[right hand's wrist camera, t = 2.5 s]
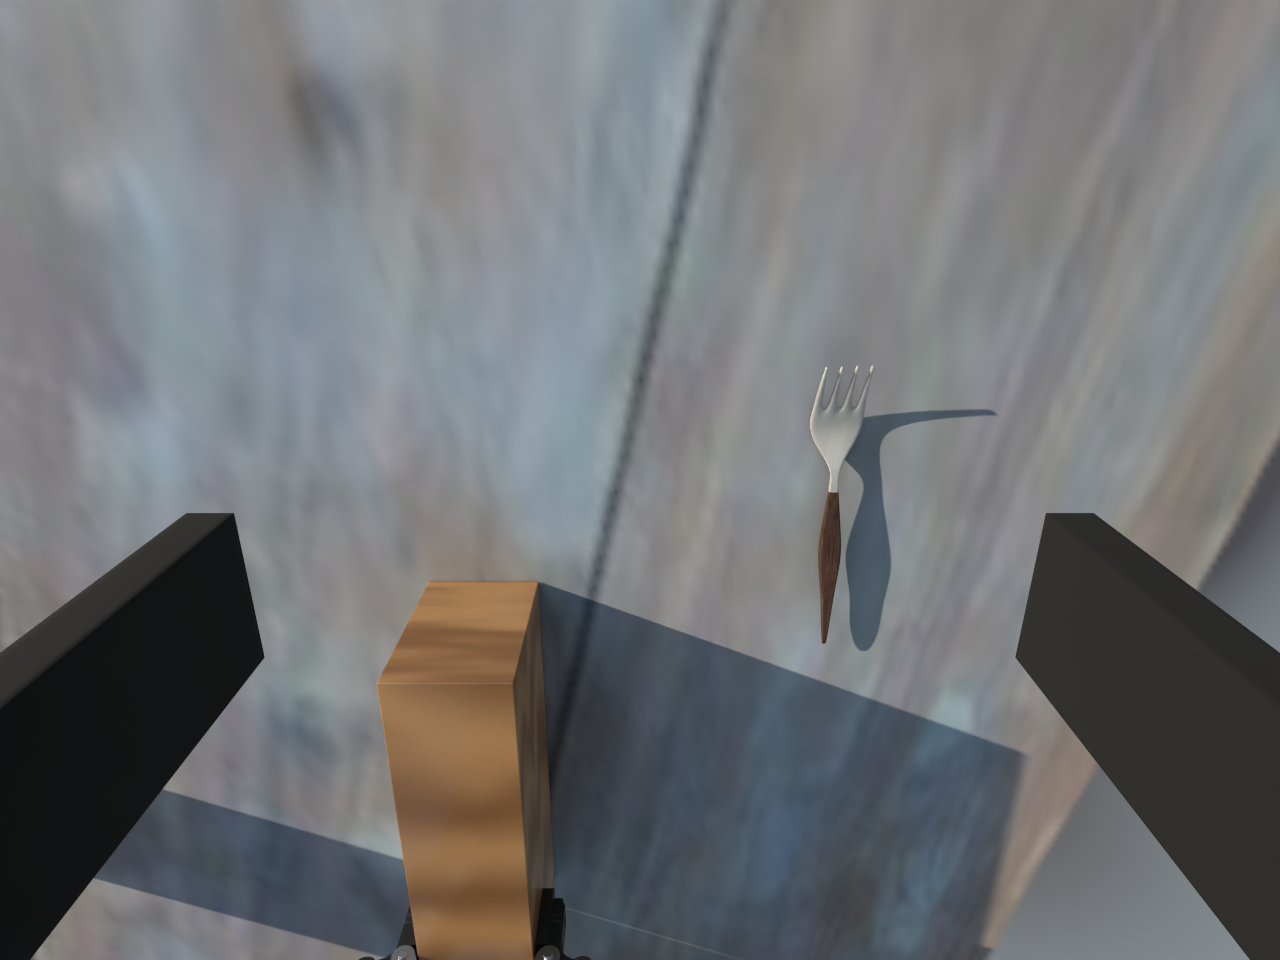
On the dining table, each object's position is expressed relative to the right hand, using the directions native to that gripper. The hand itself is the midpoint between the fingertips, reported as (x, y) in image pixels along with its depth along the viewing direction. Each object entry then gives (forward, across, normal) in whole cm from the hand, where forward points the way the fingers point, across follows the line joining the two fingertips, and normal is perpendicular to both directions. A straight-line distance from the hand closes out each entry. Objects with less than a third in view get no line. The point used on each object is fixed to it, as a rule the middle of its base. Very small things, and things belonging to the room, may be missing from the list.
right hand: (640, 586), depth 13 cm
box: (+26, -8, -25) cm, 37 cm away
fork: (+26, +10, -10) cm, 29 cm away
